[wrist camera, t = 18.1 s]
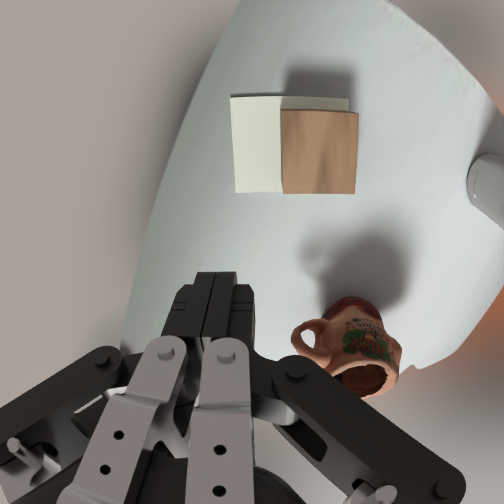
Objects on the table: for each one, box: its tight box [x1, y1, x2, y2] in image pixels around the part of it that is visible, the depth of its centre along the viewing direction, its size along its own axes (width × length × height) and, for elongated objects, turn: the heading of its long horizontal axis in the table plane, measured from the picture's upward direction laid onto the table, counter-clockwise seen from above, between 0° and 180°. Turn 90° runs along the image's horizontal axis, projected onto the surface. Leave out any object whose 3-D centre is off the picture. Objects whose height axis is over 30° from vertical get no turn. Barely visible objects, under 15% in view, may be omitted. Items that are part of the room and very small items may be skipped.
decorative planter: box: [291, 297, 402, 400], centre depth 42 cm, size 20×12×14 cm, turn 69°
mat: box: [230, 96, 349, 193], centre depth 34 cm, size 14×12×1 cm
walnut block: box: [280, 109, 359, 194], centre depth 32 cm, size 5×9×8 cm
